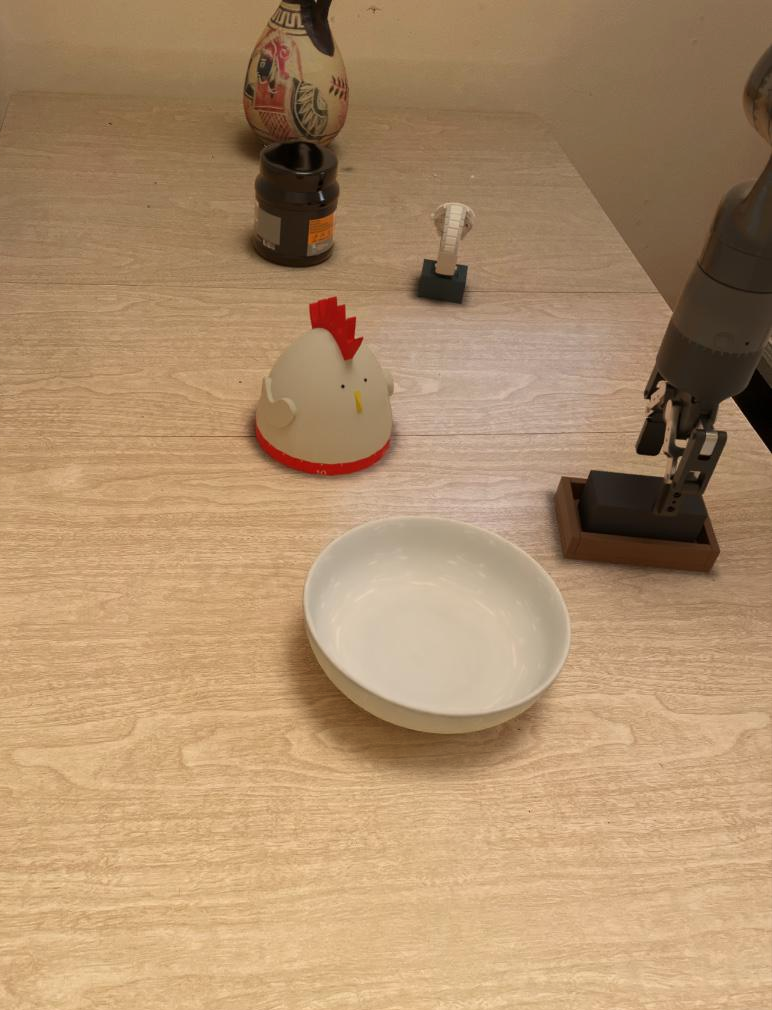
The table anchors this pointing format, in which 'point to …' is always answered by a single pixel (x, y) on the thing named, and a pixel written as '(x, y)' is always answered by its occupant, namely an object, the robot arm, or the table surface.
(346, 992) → the table surface
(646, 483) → the black rectangular block
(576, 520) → the brown wooden tray
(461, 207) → the cobra figurine
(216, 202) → the table surface
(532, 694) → the serving bowl
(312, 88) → the ceramic jug
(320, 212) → the supplement container
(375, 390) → the kitchen timer
